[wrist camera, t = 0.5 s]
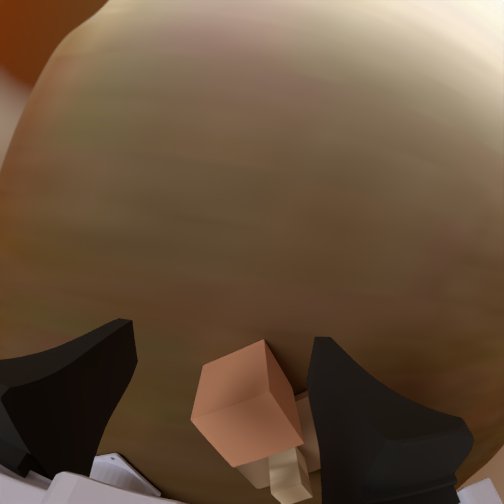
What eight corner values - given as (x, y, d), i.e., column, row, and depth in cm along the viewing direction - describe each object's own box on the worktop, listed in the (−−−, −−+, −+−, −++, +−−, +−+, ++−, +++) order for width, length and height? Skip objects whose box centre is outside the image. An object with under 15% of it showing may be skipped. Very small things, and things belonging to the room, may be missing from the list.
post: (279, 466, 25) (284, 505, 20) (267, 452, 24) (271, 493, 19) (304, 457, 24) (312, 496, 20) (294, 443, 24) (301, 484, 19)
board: (257, 483, 26) (257, 489, 25) (206, 428, 24) (205, 434, 24) (347, 451, 25) (349, 456, 25) (312, 388, 24) (313, 393, 23)
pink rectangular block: (235, 410, 24) (232, 467, 18) (203, 365, 23) (190, 419, 17) (292, 387, 24) (304, 443, 17) (263, 338, 23) (269, 391, 16)
